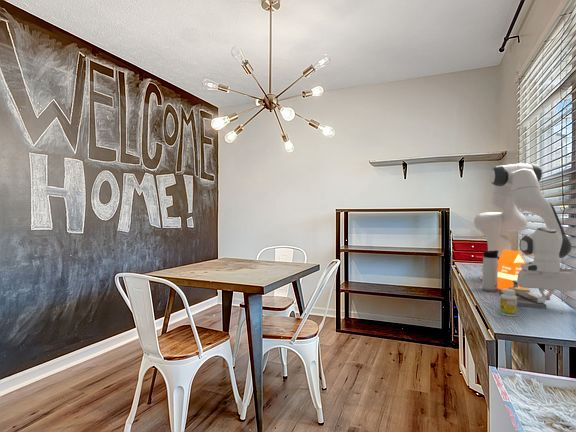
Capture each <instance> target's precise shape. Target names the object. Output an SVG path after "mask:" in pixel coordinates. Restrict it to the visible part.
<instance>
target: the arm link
mask: <svg viewBox="0 0 576 432" xmlns="http://www.w3.org/2000/svg"><path fill="white" fill-rule="evenodd" d="M512 282H513V286H511V287H517V288H520V287H518V284H517V280H512ZM516 293H517V294H519V295H521V296H524V297H526V298H528V299H530V300H533V301H535V302H537V303H544V304H546V301H547V300H546V298H544V297H542V295H539V294H536V293H533V292H531V291H530V293H528V292H516Z"/></svg>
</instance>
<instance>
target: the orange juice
mask: <svg viewBox="0 0 576 432" xmlns="http://www.w3.org/2000/svg"><path fill="white" fill-rule="evenodd" d="M523 263H526V261H525V259H524V257H523V255H522V253H521V251H517V250H512V249H511V250H504V251H503V253H502V254H501V256H500V258H499V260H498V282H497V290H503V289H509V287H511V286H513V282H512V280H517V278H518V273H519V271H520V270H521V267H520V265H521V264H523ZM518 287H520V286H519V285H518ZM520 288H523V287H520Z"/></svg>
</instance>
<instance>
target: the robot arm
mask: <svg viewBox="0 0 576 432" xmlns="http://www.w3.org/2000/svg"><path fill="white" fill-rule="evenodd" d="M542 177H543V170H542V167H541V166H540V165H539V164H537V163H513V164H506V165H496V166H494V167H493V168H491V171H490V173H489V179H490V182H491V184H492V185H493V186H494V187H493V191H492V192H493V193H492V198H491V204H492V205H493V206H494V207H495V208H497V209H500V210H501V211H494V212H493V211H487V212H486V211H485V212H481V213H478V214H476V216H475V217H474V220H473V223H474V227H475V228H476V229H477V230H479V232H480V233H482V234H483V236H484V237H485V239H486V241H487V251H499V252H498V260H499V258H500V256H501V254H502V253H503V251H504V250H512V243H511V241H510V240H508V239H506V238H505V237H502V236H501V235H500V233H501V232H506V233H507V232H508V233H510V232H512V233H516V232H522V231H524V230H525V229H526V227H527V226H528V219H527V217H526V216H525V214H523V213H522V212H521V211H520V210H519V209H521V210H522V211H525V212H529V213H532V214H534V215H536V216H539V217H540V218H541V219H542V220H543V221H544V223H545V227H537V228H536V229H535V230H534V232H532V233H530V234H526V235H524V236H522V237H521V239H520V240H519V250H520V252H521V253H522V254H524V255H525V256H527V257H528V256H529V257H533V260H532V261H529V262H525V263H523V264H521V265H520V267H521V270H520V271H519V273H518V278H517V284H518V285H519V286H520V287H523V288H527V289H538V291H539V293H540V294H541V296H542V297H544V298H546V300H545V301H550V300H551V296H552V295H553V294H554V291H569V292H576V270H575V269H574V268H572V267H561V259H563V258H565V257H566V256H568V255H569V254H570V253H571V251H572V243H571V241H570V239H569V238H568V236H567V234H566V233H565V231H564V228H563V226H562V223H561V220H560V218H559V216H558V214H557V211H556V209H555V207H554V205H553V204H552V202H550V201H549V200H547V199H546V198H545V196H544V195H543V193H542V191H541V187H540V186H541V185H540V181H541V179H542ZM518 208H519V209H518ZM481 272H483V266H482V267H481ZM479 280H482V281H483V273H481V274H480V275H479ZM497 283H498V268H497ZM546 290H547V292H548V293H547V294H545V291H546Z"/></svg>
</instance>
